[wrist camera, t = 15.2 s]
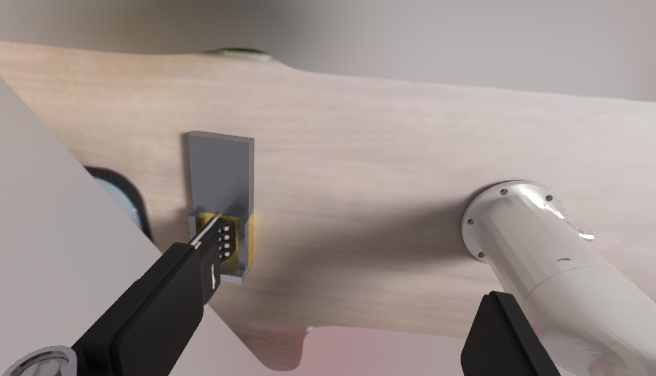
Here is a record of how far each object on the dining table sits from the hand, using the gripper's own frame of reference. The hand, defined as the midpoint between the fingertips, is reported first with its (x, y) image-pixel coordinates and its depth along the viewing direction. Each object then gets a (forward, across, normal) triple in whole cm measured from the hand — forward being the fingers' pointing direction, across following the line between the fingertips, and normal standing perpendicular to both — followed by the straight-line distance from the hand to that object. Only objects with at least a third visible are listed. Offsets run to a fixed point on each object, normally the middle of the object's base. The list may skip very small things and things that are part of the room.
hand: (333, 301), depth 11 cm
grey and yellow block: (+32, +17, +15) cm, 39 cm away
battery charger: (+31, +16, +20) cm, 40 cm away
